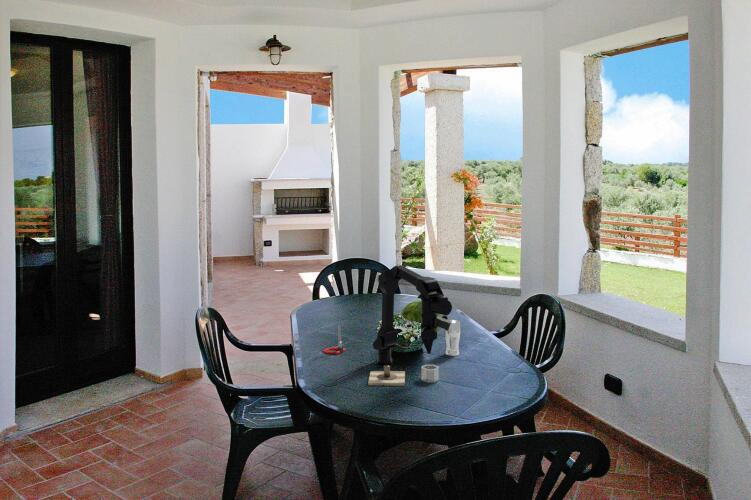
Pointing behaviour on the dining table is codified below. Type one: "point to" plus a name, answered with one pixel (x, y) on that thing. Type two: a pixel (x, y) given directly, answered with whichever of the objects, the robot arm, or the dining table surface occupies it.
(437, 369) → the aluminium ring
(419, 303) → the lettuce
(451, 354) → the beer glass
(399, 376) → the birch base board
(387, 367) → the bronze post
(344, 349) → the tow hook
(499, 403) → the dining table surface
